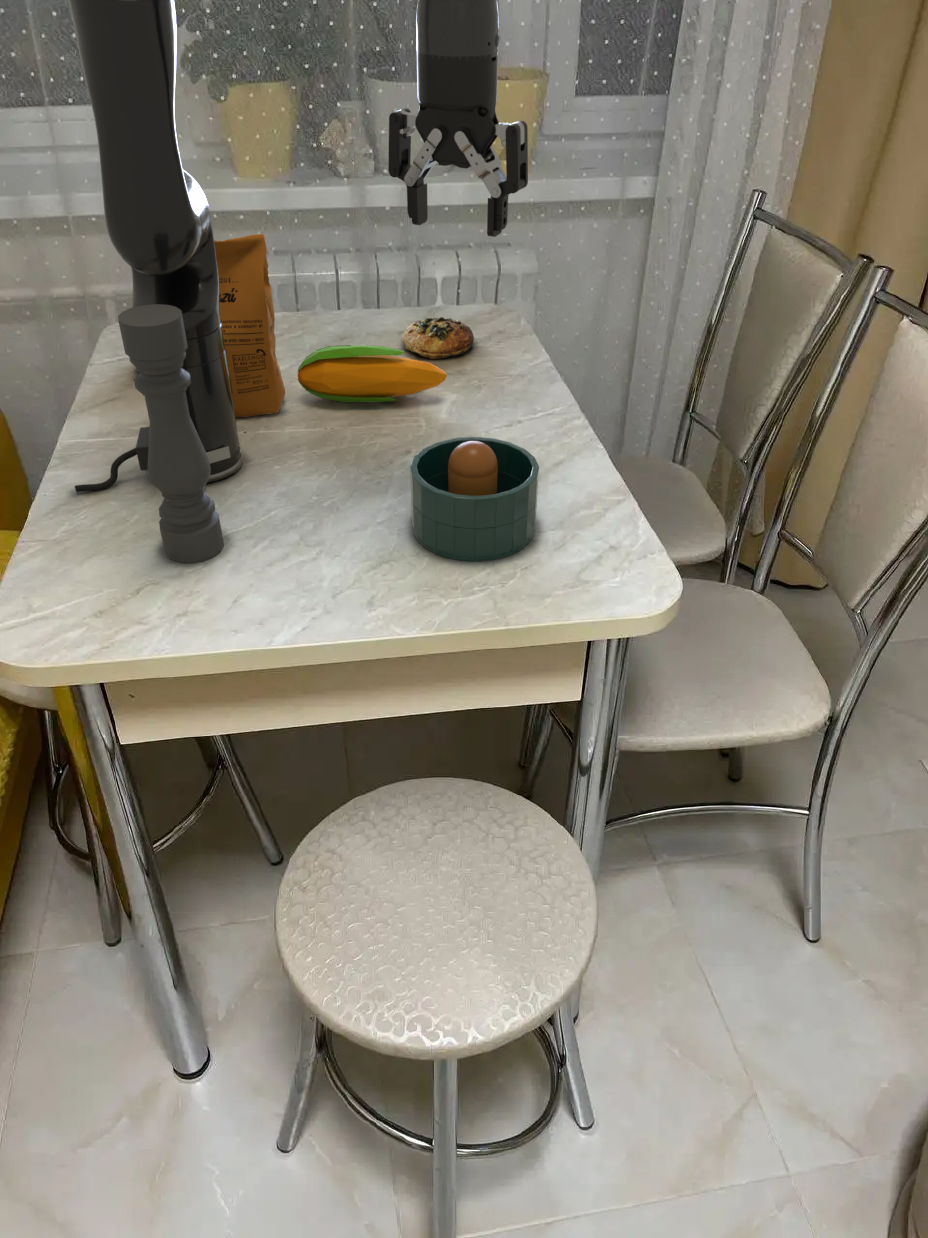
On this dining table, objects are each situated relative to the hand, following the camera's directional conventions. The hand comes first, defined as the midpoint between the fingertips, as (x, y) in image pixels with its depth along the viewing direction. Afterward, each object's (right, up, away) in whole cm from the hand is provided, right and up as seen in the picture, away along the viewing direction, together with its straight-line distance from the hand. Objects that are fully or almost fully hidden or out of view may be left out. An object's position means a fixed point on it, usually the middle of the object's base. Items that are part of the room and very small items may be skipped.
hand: (456, 228), depth 100 cm
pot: (+2, -30, +7) cm, 31 cm away
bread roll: (-3, +1, +48) cm, 48 cm away
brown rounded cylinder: (+2, -29, +7) cm, 30 cm away
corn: (-11, -10, +33) cm, 37 cm away
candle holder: (-28, -32, +4) cm, 43 cm away
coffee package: (-29, -11, +32) cm, 45 cm away
